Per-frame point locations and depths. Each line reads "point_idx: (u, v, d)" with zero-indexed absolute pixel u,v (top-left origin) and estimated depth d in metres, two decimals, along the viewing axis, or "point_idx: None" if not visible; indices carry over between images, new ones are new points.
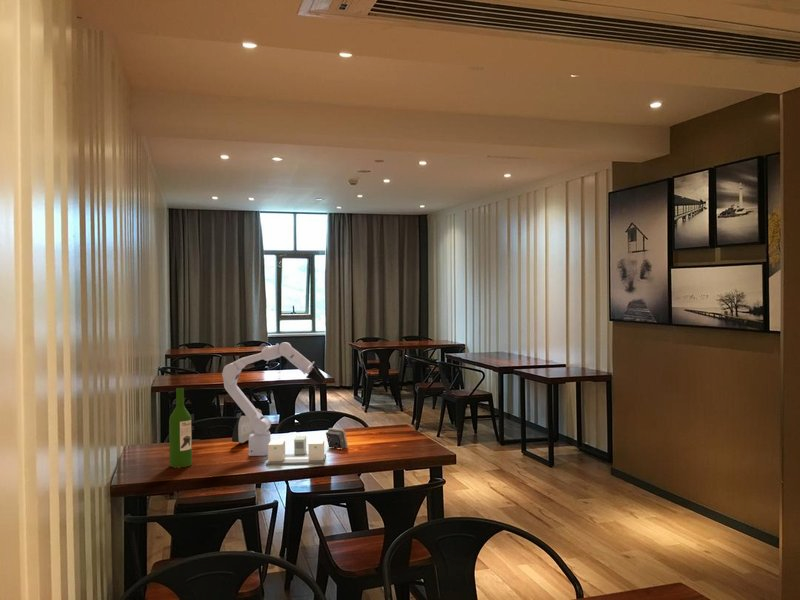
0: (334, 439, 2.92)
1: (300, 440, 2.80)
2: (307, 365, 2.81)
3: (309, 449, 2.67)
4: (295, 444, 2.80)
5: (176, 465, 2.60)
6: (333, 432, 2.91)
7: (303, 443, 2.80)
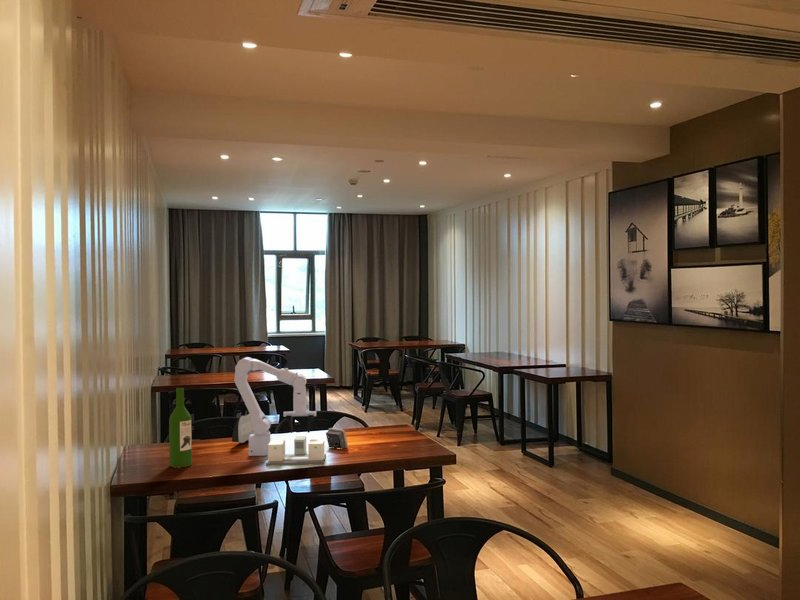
0: (334, 439, 2.92)
1: (300, 440, 2.80)
2: None
3: (309, 449, 2.67)
4: (295, 444, 2.80)
5: (176, 465, 2.60)
6: (333, 432, 2.91)
7: (303, 443, 2.80)
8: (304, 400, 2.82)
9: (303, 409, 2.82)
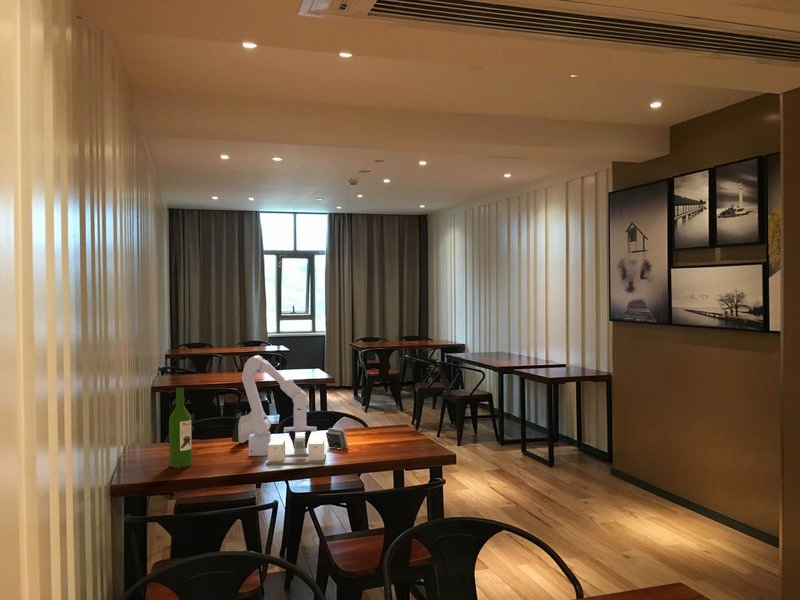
0: (334, 439, 2.92)
1: (300, 440, 2.80)
2: (294, 426, 2.82)
3: (309, 449, 2.67)
4: (295, 444, 2.80)
5: (176, 465, 2.60)
6: (333, 432, 2.91)
7: (303, 443, 2.80)
8: (304, 416, 2.82)
9: (303, 425, 2.82)
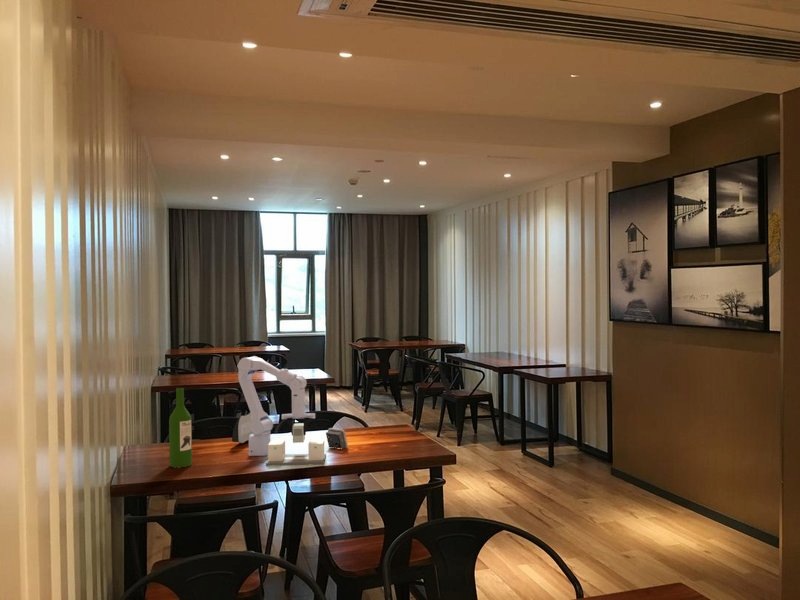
0: (334, 439, 2.92)
1: (299, 427, 2.75)
2: (292, 412, 2.76)
3: (309, 449, 2.67)
4: (293, 431, 2.74)
5: (176, 465, 2.60)
6: (333, 432, 2.91)
7: (302, 430, 2.75)
8: (301, 402, 2.76)
9: (302, 411, 2.76)
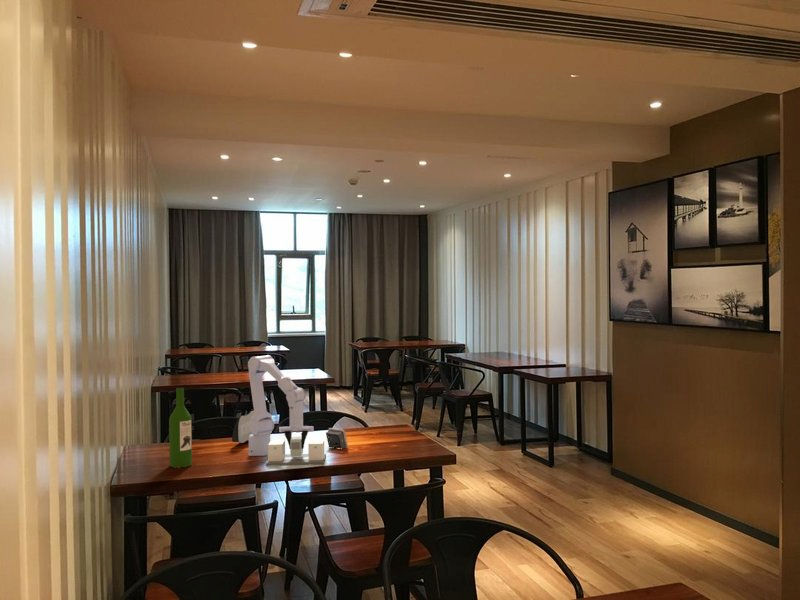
0: (334, 439, 2.92)
1: (296, 440, 2.68)
2: (290, 425, 2.69)
3: (309, 449, 2.67)
4: (291, 445, 2.67)
5: (176, 465, 2.60)
6: (333, 432, 2.91)
7: (300, 444, 2.68)
8: (297, 415, 2.68)
9: (300, 424, 2.69)
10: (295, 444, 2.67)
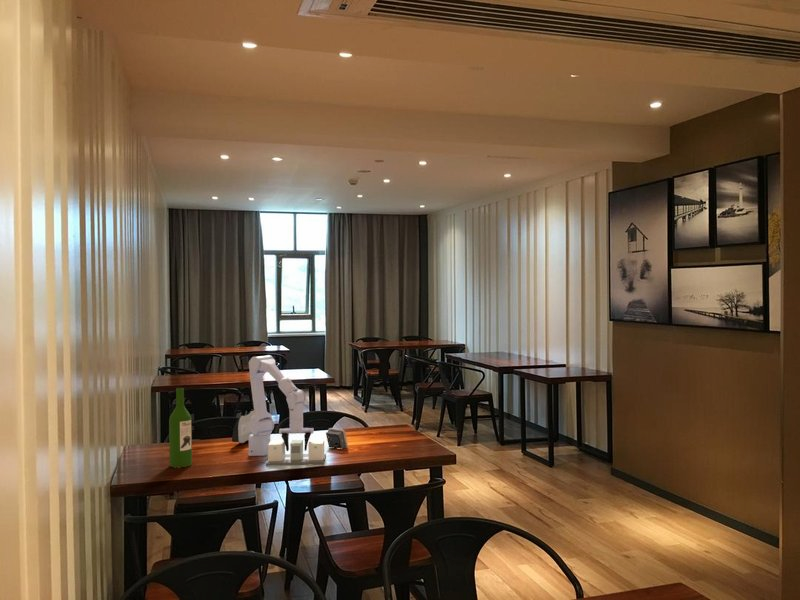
0: (334, 439, 2.92)
1: (296, 444, 2.68)
2: (290, 427, 2.69)
3: (309, 449, 2.67)
4: (291, 448, 2.67)
5: (176, 465, 2.60)
6: (333, 432, 2.91)
7: (300, 447, 2.68)
8: (297, 417, 2.68)
9: (300, 426, 2.69)
10: (295, 448, 2.67)
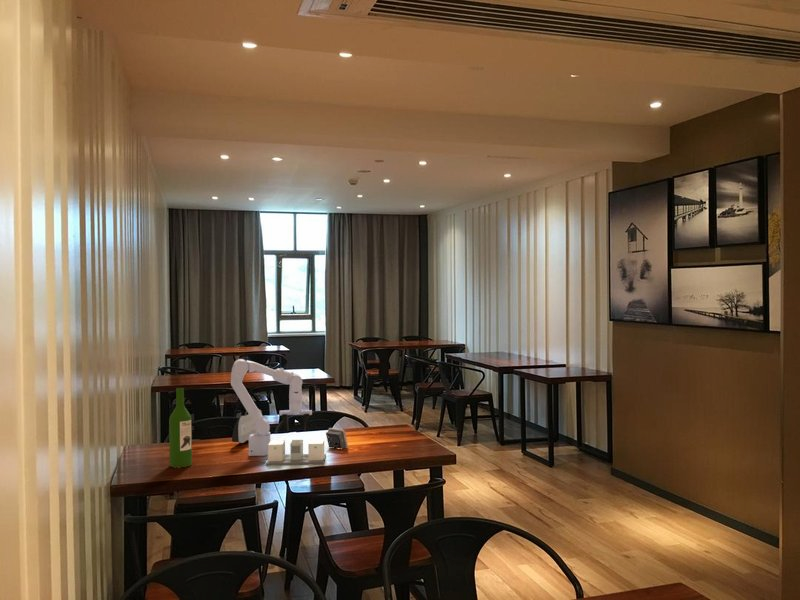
0: (334, 439, 2.92)
1: (296, 444, 2.68)
2: (289, 409, 2.86)
3: (309, 449, 2.67)
4: (291, 448, 2.67)
5: (176, 465, 2.60)
6: (333, 432, 2.91)
7: (300, 447, 2.68)
8: (301, 399, 2.86)
9: (299, 408, 2.85)
10: (295, 448, 2.67)
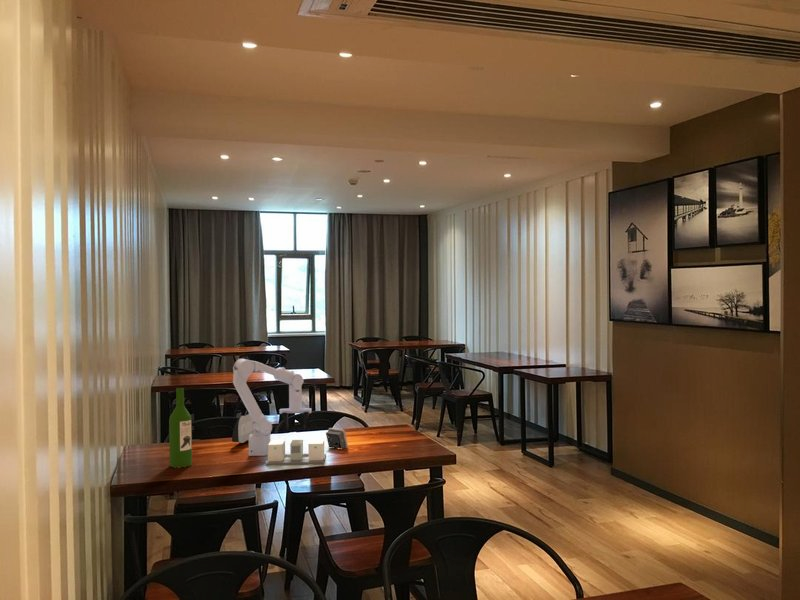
0: (334, 439, 2.92)
1: (296, 444, 2.68)
2: (289, 407, 2.90)
3: (309, 449, 2.67)
4: (291, 448, 2.67)
5: (176, 465, 2.60)
6: (333, 432, 2.91)
7: (300, 447, 2.68)
8: (301, 397, 2.91)
9: (298, 406, 2.89)
10: (295, 448, 2.67)
